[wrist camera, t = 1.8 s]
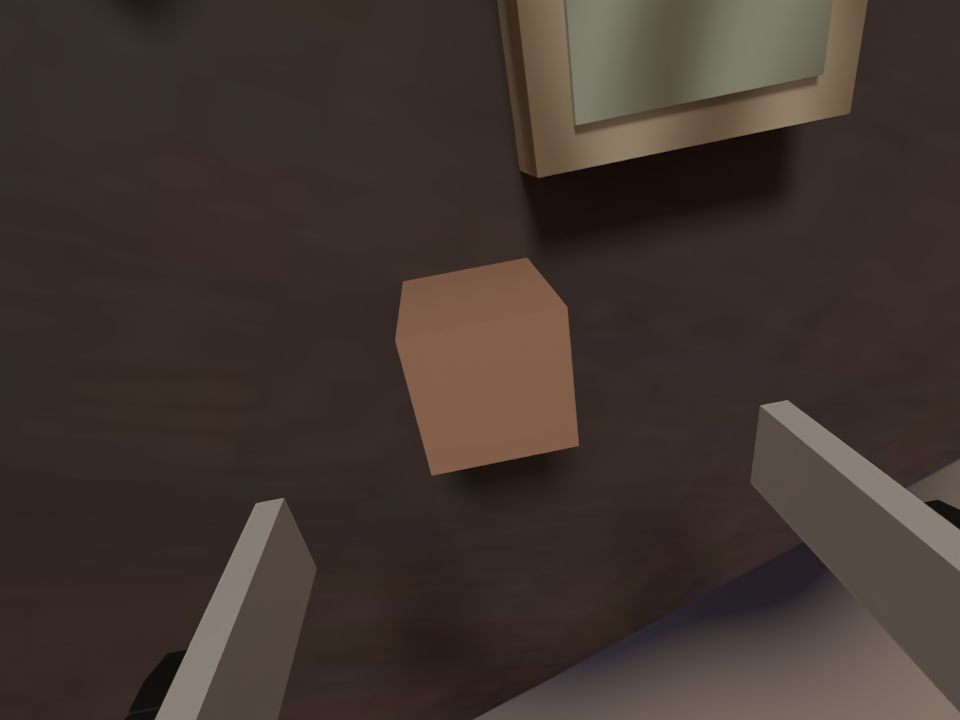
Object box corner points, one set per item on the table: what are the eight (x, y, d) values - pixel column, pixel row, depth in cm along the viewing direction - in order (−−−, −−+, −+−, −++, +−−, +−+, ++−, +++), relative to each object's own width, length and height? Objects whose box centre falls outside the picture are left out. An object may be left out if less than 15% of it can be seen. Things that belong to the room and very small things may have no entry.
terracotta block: (429, 389, 25) (432, 475, 19) (402, 281, 22) (395, 340, 16) (540, 367, 25) (578, 445, 19) (527, 257, 22) (567, 307, 16)
